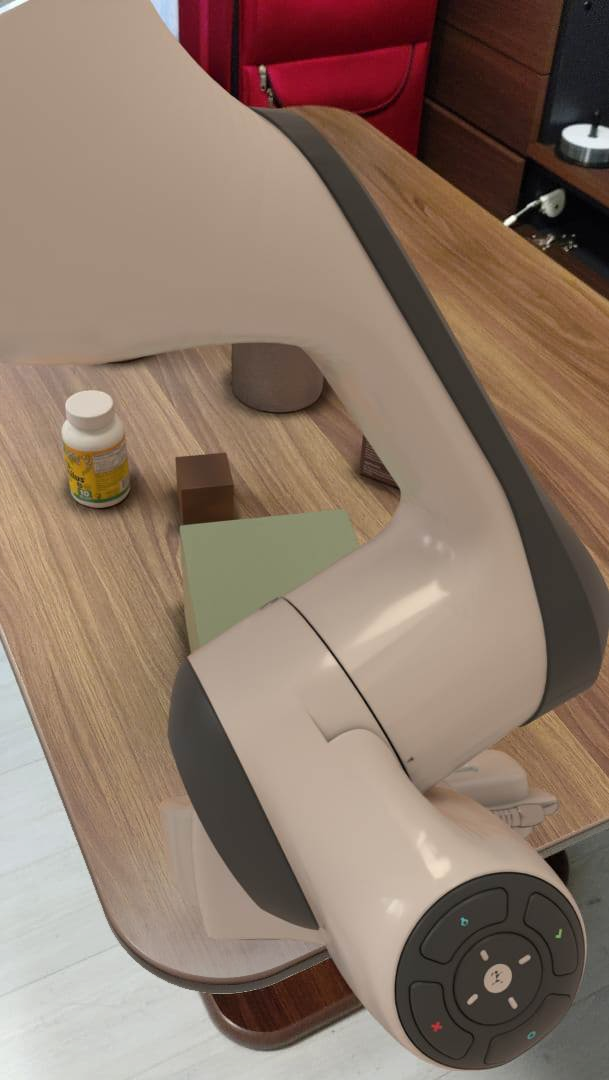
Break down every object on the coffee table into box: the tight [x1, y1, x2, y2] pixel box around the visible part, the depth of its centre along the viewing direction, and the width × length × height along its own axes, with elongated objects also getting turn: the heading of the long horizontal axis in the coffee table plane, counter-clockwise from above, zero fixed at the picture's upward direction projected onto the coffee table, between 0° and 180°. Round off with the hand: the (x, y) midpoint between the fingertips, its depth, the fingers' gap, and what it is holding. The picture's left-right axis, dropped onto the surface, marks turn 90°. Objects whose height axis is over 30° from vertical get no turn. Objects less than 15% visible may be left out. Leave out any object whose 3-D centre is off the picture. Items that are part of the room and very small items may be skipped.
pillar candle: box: [230, 342, 325, 413], centre depth 96 cm, size 10×10×15 cm
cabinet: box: [179, 508, 360, 654], centre depth 71 cm, size 14×13×10 cm
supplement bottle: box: [61, 389, 131, 509], centre depth 85 cm, size 5×5×10 cm
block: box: [174, 452, 235, 526], centre depth 86 cm, size 4×4×4 cm
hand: (319, 784), depth 61 cm, fingers closed on drawer, 6 cm apart
